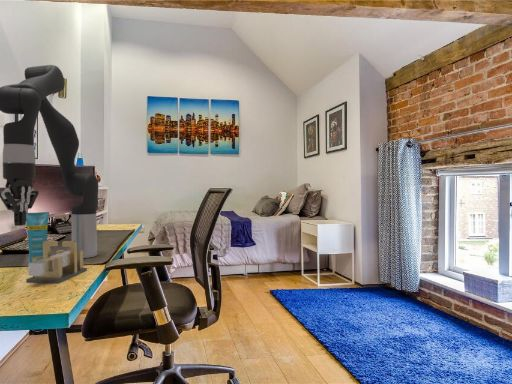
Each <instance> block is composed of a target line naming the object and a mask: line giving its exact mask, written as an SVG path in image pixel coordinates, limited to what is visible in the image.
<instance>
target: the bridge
mask: <svg viewBox="0 0 512 384" xmlns="http://www.w3.org/2000/svg"><path fill="white" fill-rule="evenodd" d="M61 244H62V245H61V246H62V248H63V247H64V248H65V247H66V248H67V247H68V248H69V251H70V273H76V272H77V241H72V240H64V241H62V243H61ZM58 245H59V241H58V240H47V241H43V259H44V258H47V257H50V256H51V247H58Z"/></svg>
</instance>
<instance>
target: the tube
mask: <svg viewBox="0 0 512 384" xmlns="http://www.w3.org/2000/svg"><path fill="white" fill-rule="evenodd" d="M49 217H50V211H42V212H41V211H40V212H26V228H27V229H26V230H27V239H28V240H27V241H28V253H29V254H28V255H29V256H28V258H29V263H31V262H32V258H35V257H41V259H43V241H48V240H47V239H48V226H49Z"/></svg>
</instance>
